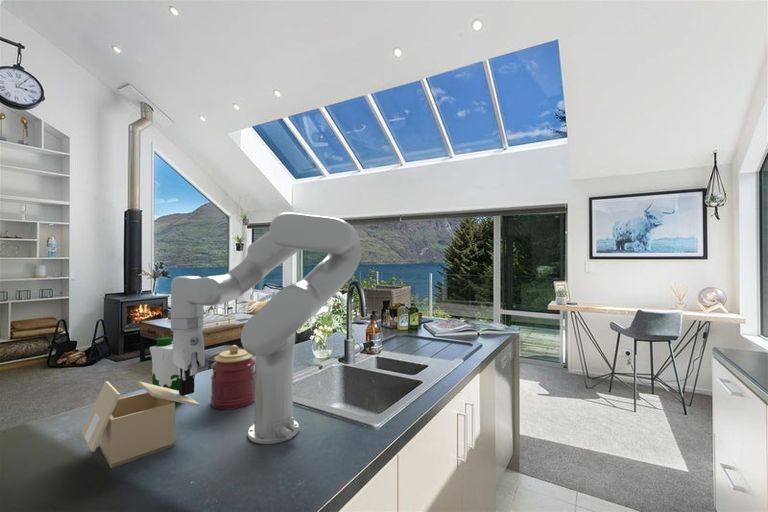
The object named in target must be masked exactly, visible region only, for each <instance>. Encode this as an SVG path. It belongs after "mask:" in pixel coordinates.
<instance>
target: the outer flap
mask: <svg viewBox="0 0 768 512" xmlns="http://www.w3.org/2000/svg"><path fill="white" fill-rule="evenodd" d="M119 398H121V393H120V392H119V391H118V390H117V389H116V388H115V387H114V386H113V385H112V384H111V382H110V381H107V380H106V381H105V382H104V383H103V386H102V388H101V389H100V392H99V394H98V396H97V397H96V401H95V403H94V405H93V406H92V408H91V411H90V412H89V415H88V417H87V419H86V422H85V424H84V426H83V428H82V430H81V432H80V433H81V434H82V436H83V438H84V440H85V442H86V444H87V446H88V448H89V450H90V452H96V449H97V447H98V446H99V441H100V439H101V436H102V434H103V432H104V430H105V428H106V425H107V423H108V421H109V419H110V417H111V414H112V412H113V410H114V408H115V406H116V403H117V401H118V399H119Z"/></svg>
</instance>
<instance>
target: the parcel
mask: <svg viewBox="0 0 768 512" xmlns="http://www.w3.org/2000/svg"><path fill="white" fill-rule="evenodd" d="M175 442H176V406H175V403H174V402H173V401H171V400H167V399H162V398H158V397H153V396H151V395H150V394H149V393H148V392H147V391H146V392H141V393H137V394H133V395H129V396H125V397H119V399H118V401H117V403H116V406H115V408H114V410H113V412H112V414H111V417H110V419H109V421H108V423H107V425H106V428H105V430H104V432H103V434H102V436H101V439H100V441H99V443H98V448H99V449H100V451H101V453H102V455H103V456H104V458H105V460H106V462H107V464H108V465H109V467H110V468H111V469H113V468H115V467H119V466H121V465H124V464H128V463H130V462H133V461H136V460H139V459H142V458H145V457H148V456H151V455H153V454H156V453H159V452H162V451H166V450H167V449H171V448H173V447H175V446H176V443H175Z"/></svg>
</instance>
